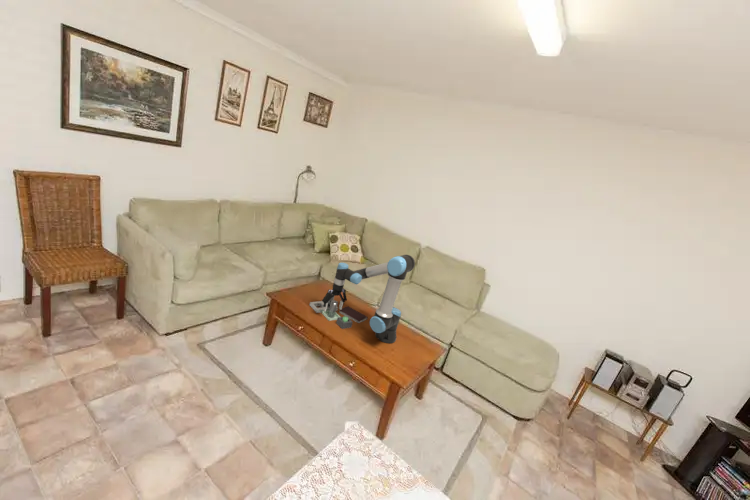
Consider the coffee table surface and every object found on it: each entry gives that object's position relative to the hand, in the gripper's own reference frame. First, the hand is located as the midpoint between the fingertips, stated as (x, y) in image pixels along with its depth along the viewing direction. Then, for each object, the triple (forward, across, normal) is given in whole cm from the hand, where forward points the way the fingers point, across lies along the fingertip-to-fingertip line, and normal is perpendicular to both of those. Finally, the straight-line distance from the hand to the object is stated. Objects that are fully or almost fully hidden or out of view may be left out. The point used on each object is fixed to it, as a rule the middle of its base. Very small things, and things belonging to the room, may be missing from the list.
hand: (332, 309), depth 257 cm
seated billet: (+6, -5, -12) cm, 15 cm away
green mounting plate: (+6, 0, 0) cm, 6 cm away
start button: (+4, -3, +14) cm, 15 cm away
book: (+7, -18, +3) cm, 20 cm away
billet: (+5, 0, 0) cm, 5 cm away
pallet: (+6, 0, -12) cm, 14 cm away
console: (+6, -3, +14) cm, 15 cm away
